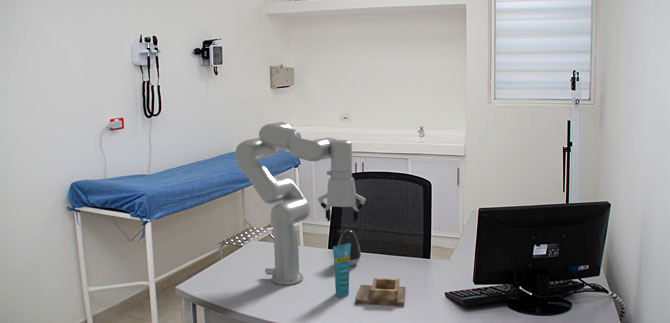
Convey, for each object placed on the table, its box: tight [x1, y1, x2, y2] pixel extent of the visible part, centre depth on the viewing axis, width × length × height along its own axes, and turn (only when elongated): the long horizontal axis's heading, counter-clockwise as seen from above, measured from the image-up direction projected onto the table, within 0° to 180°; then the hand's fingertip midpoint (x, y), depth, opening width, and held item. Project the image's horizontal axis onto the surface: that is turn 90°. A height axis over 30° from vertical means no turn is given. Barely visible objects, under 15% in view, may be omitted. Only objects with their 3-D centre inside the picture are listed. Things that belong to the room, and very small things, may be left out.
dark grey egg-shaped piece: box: [337, 229, 362, 267], centre depth 236 cm, size 10×10×15 cm
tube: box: [332, 243, 351, 297], centre depth 205 cm, size 7×5×19 cm, turn 123°
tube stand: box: [355, 277, 407, 307], centre depth 203 cm, size 17×14×5 cm
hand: (342, 220), depth 202 cm, fingers open, 9 cm apart
